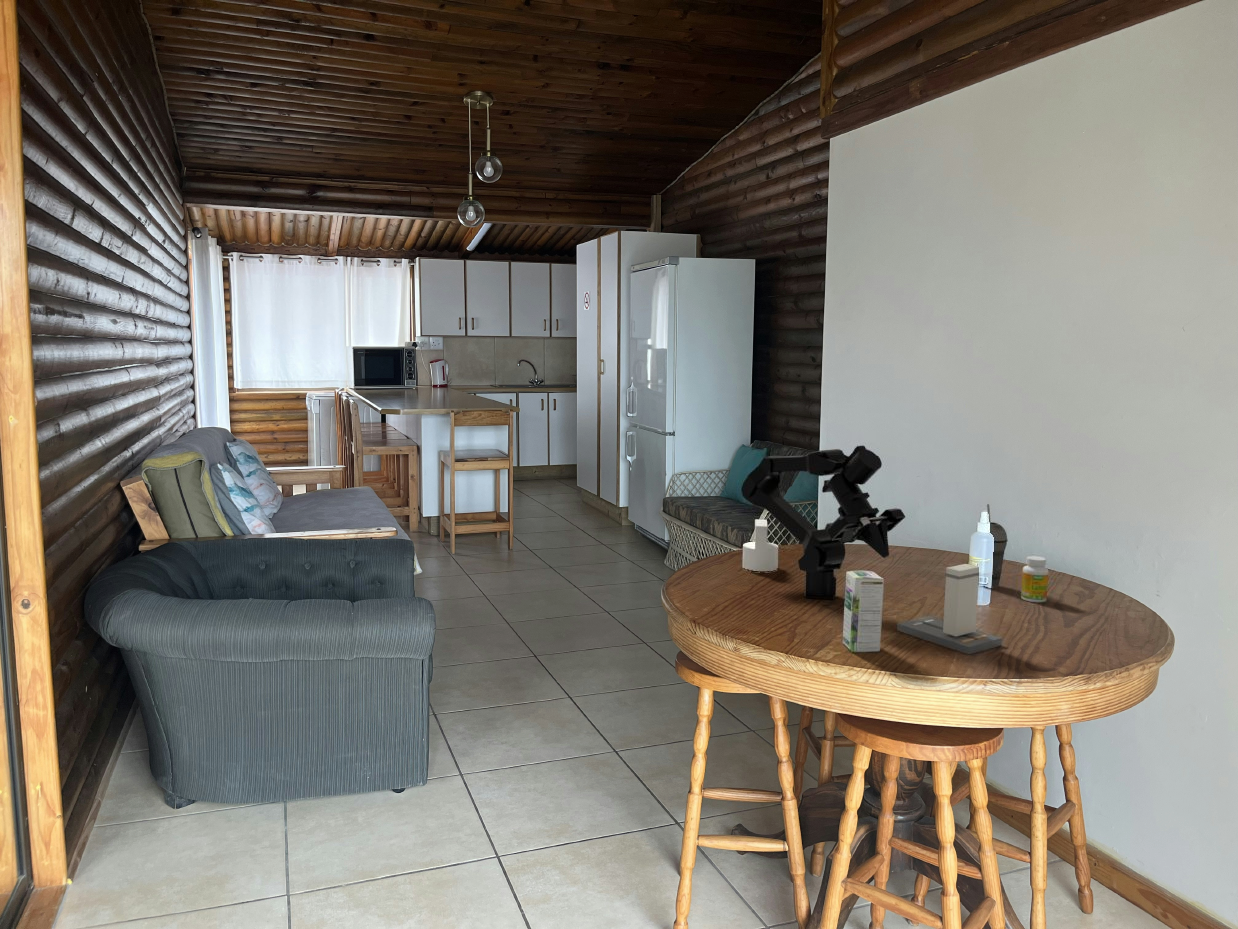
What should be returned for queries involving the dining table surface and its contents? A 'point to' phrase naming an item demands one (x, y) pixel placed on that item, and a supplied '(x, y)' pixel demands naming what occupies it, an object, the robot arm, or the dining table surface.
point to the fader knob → (961, 599)
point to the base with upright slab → (760, 550)
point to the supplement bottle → (1034, 580)
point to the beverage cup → (997, 549)
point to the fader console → (948, 635)
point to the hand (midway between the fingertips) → (886, 556)
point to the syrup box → (863, 611)
